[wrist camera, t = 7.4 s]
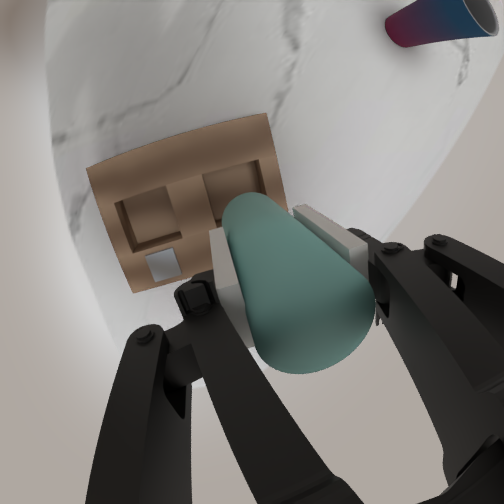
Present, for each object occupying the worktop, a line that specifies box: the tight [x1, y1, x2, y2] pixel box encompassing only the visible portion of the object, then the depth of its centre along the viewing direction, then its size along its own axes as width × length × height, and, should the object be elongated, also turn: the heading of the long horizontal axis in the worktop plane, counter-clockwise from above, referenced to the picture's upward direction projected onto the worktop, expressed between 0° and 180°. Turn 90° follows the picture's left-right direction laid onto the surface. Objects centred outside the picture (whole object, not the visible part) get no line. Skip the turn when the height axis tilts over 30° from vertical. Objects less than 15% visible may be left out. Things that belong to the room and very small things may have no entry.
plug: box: [222, 192, 376, 374], centre depth 14 cm, size 4×4×12 cm
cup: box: [385, 0, 499, 47], centre depth 19 cm, size 7×7×15 cm
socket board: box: [86, 113, 288, 293], centre depth 28 cm, size 14×18×4 cm
